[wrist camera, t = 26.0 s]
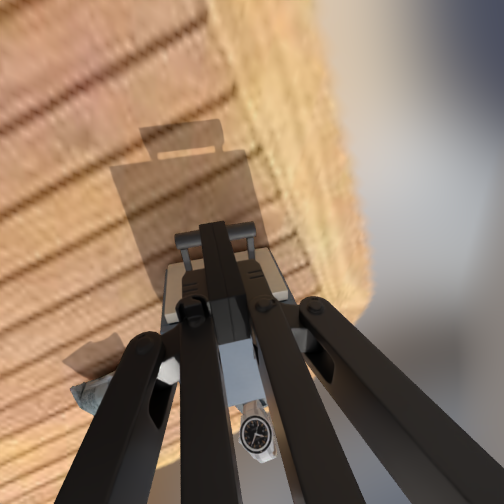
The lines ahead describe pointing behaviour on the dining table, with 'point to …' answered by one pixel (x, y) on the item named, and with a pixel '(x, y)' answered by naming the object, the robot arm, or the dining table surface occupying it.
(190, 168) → the dining table surface
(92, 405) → the packaged food
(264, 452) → the watch
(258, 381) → the cabinet
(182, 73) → the dining table surface
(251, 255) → the drawer
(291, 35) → the dining table surface
